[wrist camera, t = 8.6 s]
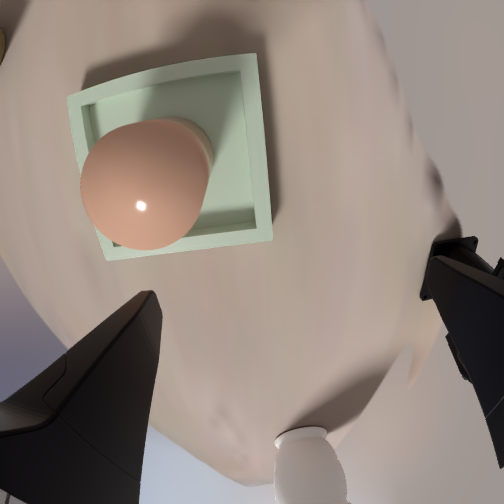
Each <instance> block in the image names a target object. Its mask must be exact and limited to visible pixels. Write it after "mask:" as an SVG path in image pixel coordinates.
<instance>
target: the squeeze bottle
mask: <svg viewBox="0 0 504 504" xmlns="http://www.w3.org/2000/svg"><path fill="white" fill-rule="evenodd" d="M4 50H5V35H4V32H3V30H2V29H1V28H0V64H1V61H2V57H3V54H4Z"/></svg>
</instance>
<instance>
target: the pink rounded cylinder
mask: <svg viewBox="0 0 504 504" xmlns="http://www.w3.org/2000/svg"><path fill="white" fill-rule="evenodd" d="M213 162H214V153H213V148H212V144H211V142H210V140H209V138H208V136H207V134H206V133H205V132H204V131H203V129H202V128H201V127H199V126H198V125H197V124H196V123H194V122H192V121H190V120H188V119H186V118H182V117H176V116H168V117H162V118H156V119H151V120H146V121H141V122H137V123H132V124H128V125H124V126H121V127H118V128H116V129H114V130H112V131H110V132H108V133H107V134H105V135H104V136H103V137H102V138H101V139H99V140H98V141H97V142H96V144H95V145H94V146H93V147H92V149H91V150H90V152H89V154H88V155H87V157H86V160H85V162H84V165H83V168H82V173H81V182H80V188H81V196H82V201H83V204H84V207H85V210H86V212H87V214H88V216H89V218H90V219H91V221H92V223H93V224H94V225H95V226H96V228H97V229H98V230H99V231H100V232H101V233H102V234H103V235H104V236H106V237H107V238H108V239H110V240H111V241H113V242H115V243H117V244H119V245H121V246H124V247H127V248H130V249H135V250H154V249H160V248H163V247H166V246H168V245H170V244H172V243H174V242H176V241H177V240H179V239H181V238H182V237H183V236H184V235H185V234H186V233H187V232H188V231H189V230H190V229H191V228H192V226H193V225H194V223H195V222H196V220H197V218H198V216H199V214H200V211H201V208H202V205H203V201H204V197H205V193H206V190H207V186H208V182H209V179H210V175H211V172H212V168H213Z"/></svg>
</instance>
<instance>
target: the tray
mask: <svg viewBox="0 0 504 504" xmlns="http://www.w3.org/2000/svg"><path fill="white" fill-rule="evenodd" d="M66 98H67V106H68V113H69V119H70V126H71V132H72V137H73V142H74V148H75V153H76V157H77V162H78V166H79V171H80V175H81V173H82V168H83V165H84V162H85V160H86V157H87V155H88V154H89V152H90V150H91V149H92V147H93V146H94V145H95V144H96V142H97V141H98V140H99V139H101V138H102V137H103V136H104V135H105V134H107V133H108V132H110V131H112V130H114V129H116V128H118V127H121V126H124V125H128V124H132V123H137V122H141V121H146V120H151V119H156V118H162V117H168V116H176V117H182V118H186V119H188V120H190V121H192V122H194V123H196V124H197V125H198V126H199V127H201V128H202V129H203V131H204V132H205V133H206V134H207V136H208V138H209V140H210V142H211V144H212V148H213V153H214V162H213V168H212V172H211V175H210V179H209V182H208V186H207V190H206V193H205V197H204V201H203V205H202V208H201V211H200V214H199V216H198V218H197V220H196V222H195V223H194V225H193V226H192V228H191V229H190V230H189V231H188V232H187V233H186V234H185V235H184V236H183V237H182V238H181V239H179V240H177V241H176V242H174V243H172V244H170V245H168V246H166V247H163V248H160V249H154V250H135V249H130V248H127V247H124V246H121V245H119V244H117V243H115V242H113V241H111V240H110V239H108V238H107V237H106V236H104V235H103V234H102V233H101V232H100V231H99V230H98V229H97V228H96V226H95V225H94V226H95V229H96V232H97V235H98V238H99V241H100V244H101V247H102V250H103V253H104V256H105V259H106V261H112V260H119V259H127V258H135V257H143V256H151V255H158V254H166V253H174V252H182V251H190V250H199V249H207V248H215V247H223V246H232V245H240V244H248V243H257V242H265V241H273V232H272V219H271V206H270V193H269V181H268V169H267V157H266V146H265V135H264V124H263V113H262V103H261V93H260V83H259V74H258V65H257V56H256V53H250V54H238V55H228V56H220V57H212V58H205V59H199V60H193V61H187V62H182V63H177V64H172V65H167V66H162V67H158V68H154V69H150V70H146V71H142V72H138V73H134V74H131V75H127V76H124V77H120V78H117V79H114V80H111V81H108V82H105V83H102V84H99V85H96V86H93V87H90V88H87V89H85V90H82V91H80V92H77V93H74V94H72V95H69V96H67V97H66Z"/></svg>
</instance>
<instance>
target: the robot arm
mask: <svg viewBox="0 0 504 504" xmlns="http://www.w3.org/2000/svg"><path fill="white" fill-rule="evenodd" d="M477 244H478V238H477V237H475V236H471V237H465V238H458V239H451V240H445V241H438V242H435V243H433V245H432V248H431V252H430V257H429V261H428V266H427V270H426V274H425V278H424V282H423V286H422V289H421V293H420V298H421V300H422V301H425V300H429V299H433V300H434V302H435V304H436V306H437V309H438V311H439V313H440V316H441V318H442V320H443V322H444V324H445V326H446V328H447V330H448V332H449V333H448V334H447V335H446V339H447V342H448V345H449V347H450V349H451V352H452V354H453V356H454V359H455V361H456V363H457V366H458V369H459V371H460V373H461V374H462V377H463V378H464V379H465V380H468V381H469V382H471V383H472V384H473V387H474V389H475V392H476V394H477V397H478V400H479V402H480V405H481V408H482V410H483V413H484V416H485V418H486V419H485V420H486V422H487V426H488V429H489V432H490V435H491V438H492V442H493V445H494V449H495V452H496V456H497V460H498V464H499V467H500V469H501V468H503V467H504V260H503V259H502V258H500V259H499V261H498V264H497V266H496V268H495V269H493V268H492V267H491V266H490V265H489V264H488V263H487V262H485V261H484V260H483V259H482V258H481V257H480V256H479V255H477V254H476V253H475V252H476V248H477ZM436 247H437V248H436ZM162 319H163V316H162V310H161V308H160V305H159V302H158V299H157V296H156V294H155V292H154V291H153V290H149V291H141V292H139V293H138V294H137V295H136V296H134V297H133V298H132V299H130V300H129V301H128V302H127V303H125V304H124V305H123V306H122V307H120V308H119V309H118V310H117V311H115V312H114V313H113V314H112V315H110V316H109V317H108V318H107V319H105V320H104V321H103V322H102V323H101V324H99V325H98V326H97V327H96V328H94V329H93V330H92V331H91V332H90V333H88V334H87V335H86V336H85V337H83V338H82V339H81V340H80V341H79V342H77V343H76V344H75V345H74V346H73V347H71V348H70V349H69V350H68V351H67V352H66V354H63V355H62V356H61V357H60V358H58V359H57V360H56V361H55V362H54V363H52V364H51V365H50V366H49V367H48V368H47V369H45V370H44V371H43V372H41V373H40V374H39V375H38V376H36V377H35V378H33V379H32V380H31V381H29V382H28V383H27V384H26V385H24V386H23V387H22V388H20V389H19V390H17V391H16V392H15V393H13V394H12V395H11V396H9V397H8V398H7V399H5V400H4V401H2V402H0V504H139V495H140V481H141V473H142V464H143V456H144V448H145V441H146V433H147V427H148V420H149V414H150V407H151V401H152V395H153V390H154V384H155V379H156V373H157V368H158V362H159V354H160V341H161V330H162Z"/></svg>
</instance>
